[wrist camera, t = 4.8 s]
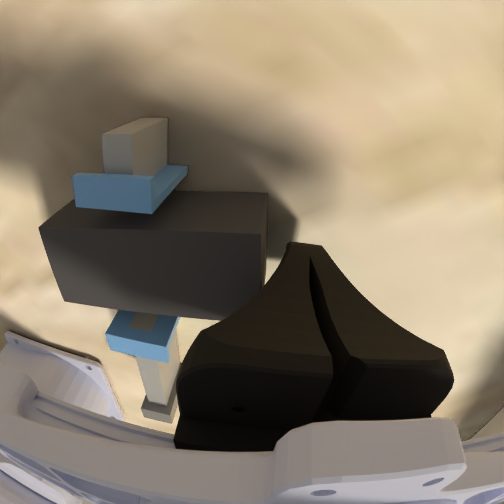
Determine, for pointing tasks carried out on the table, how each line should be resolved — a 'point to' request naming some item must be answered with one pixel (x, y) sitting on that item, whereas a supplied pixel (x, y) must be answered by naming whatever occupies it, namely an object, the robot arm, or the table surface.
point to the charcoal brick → (163, 254)
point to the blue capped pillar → (146, 201)
